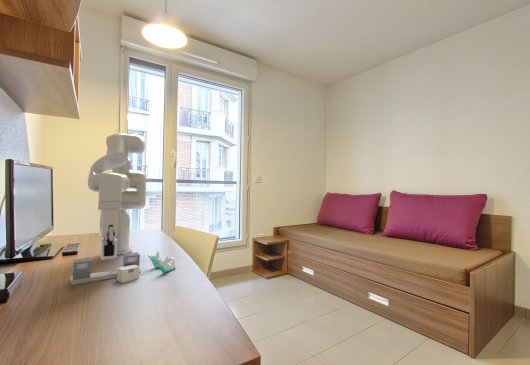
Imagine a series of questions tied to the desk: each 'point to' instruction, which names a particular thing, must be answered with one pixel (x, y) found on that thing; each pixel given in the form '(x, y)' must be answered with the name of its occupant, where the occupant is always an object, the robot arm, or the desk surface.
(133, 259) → the rail
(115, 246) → the block
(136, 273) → the block
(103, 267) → the desk surface
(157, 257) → the jawbone
